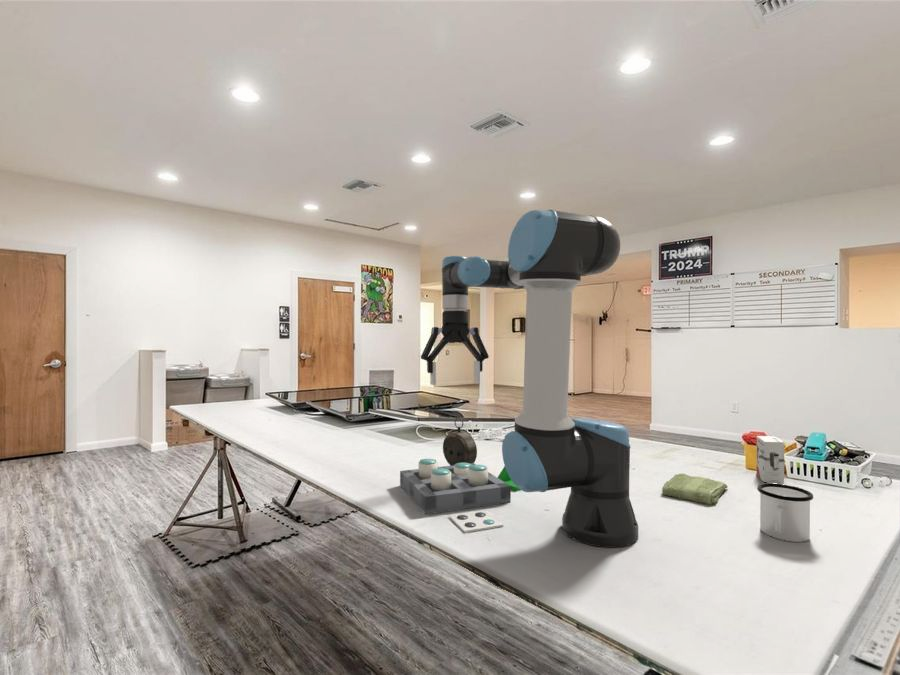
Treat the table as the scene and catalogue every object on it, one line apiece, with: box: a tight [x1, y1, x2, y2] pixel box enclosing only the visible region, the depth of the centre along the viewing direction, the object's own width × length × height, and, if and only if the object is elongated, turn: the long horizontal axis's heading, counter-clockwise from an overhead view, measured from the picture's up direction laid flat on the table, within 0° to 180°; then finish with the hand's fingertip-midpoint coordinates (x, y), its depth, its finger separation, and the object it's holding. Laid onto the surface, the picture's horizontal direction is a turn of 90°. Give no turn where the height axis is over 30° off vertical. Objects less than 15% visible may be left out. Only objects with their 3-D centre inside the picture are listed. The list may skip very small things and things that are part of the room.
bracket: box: [497, 465, 521, 492], centre depth 130 cm, size 12×8×7 cm, turn 127°
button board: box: [399, 462, 512, 515], centre depth 122 cm, size 22×22×4 cm
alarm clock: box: [442, 417, 478, 466], centre depth 142 cm, size 11×5×16 cm, turn 45°
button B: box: [418, 458, 439, 479], centre depth 124 cm, size 5×5×4 cm
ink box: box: [756, 435, 785, 485], centre depth 134 cm, size 9×5×12 cm, turn 161°
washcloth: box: [661, 473, 728, 506], centre depth 124 cm, size 13×18×3 cm
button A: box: [431, 468, 451, 492], centre depth 115 cm, size 5×5×4 cm
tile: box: [448, 509, 504, 534], centre depth 103 cm, size 9×9×1 cm
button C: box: [468, 464, 489, 487], centre depth 119 cm, size 5×5×4 cm
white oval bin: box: [756, 483, 814, 543], centre depth 96 cm, size 12×10×9 cm
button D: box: [454, 463, 471, 476], centre depth 128 cm, size 5×5×4 cm
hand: (455, 384), depth 136 cm, fingers open, 13 cm apart
